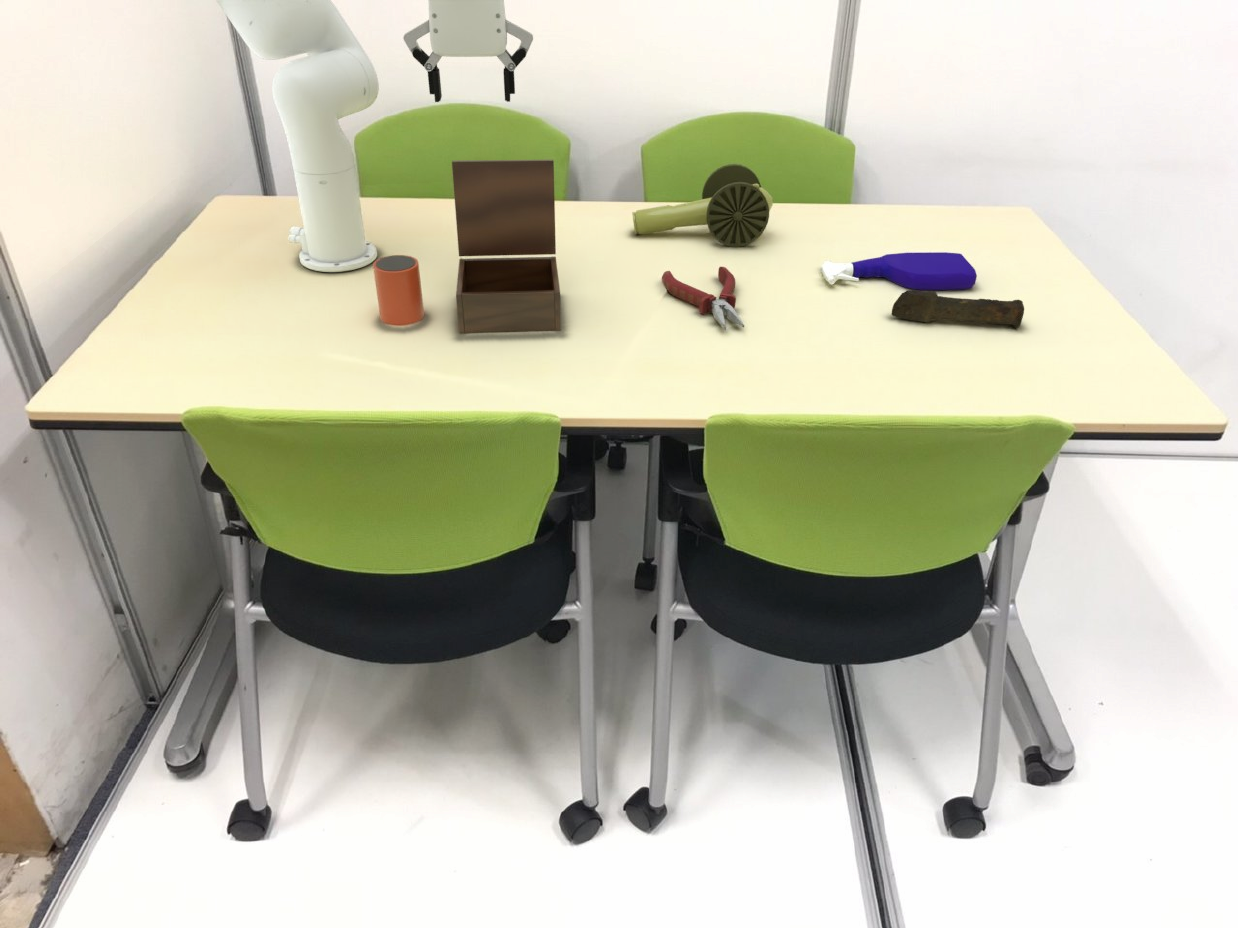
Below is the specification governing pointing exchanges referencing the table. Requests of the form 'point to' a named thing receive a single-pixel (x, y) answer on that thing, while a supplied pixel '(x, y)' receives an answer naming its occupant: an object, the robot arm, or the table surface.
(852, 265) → the spray bottle
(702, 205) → the cannon
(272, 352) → the table surface
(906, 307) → the hand tool
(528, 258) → the box
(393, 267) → the tin
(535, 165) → the lid
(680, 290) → the pliers
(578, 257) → the table surface
